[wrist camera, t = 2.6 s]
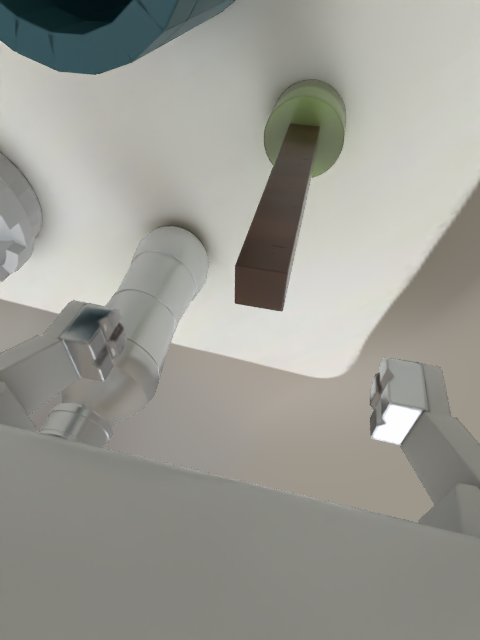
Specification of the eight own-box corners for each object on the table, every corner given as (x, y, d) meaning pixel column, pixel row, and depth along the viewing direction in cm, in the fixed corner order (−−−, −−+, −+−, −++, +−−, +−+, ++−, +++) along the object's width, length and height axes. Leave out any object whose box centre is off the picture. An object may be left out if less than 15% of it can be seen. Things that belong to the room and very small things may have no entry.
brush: (276, 76, 24) (188, 219, 12) (353, 82, 23) (343, 241, 11) (270, 153, 27) (198, 324, 15) (337, 161, 27) (316, 346, 15)
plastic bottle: (204, 214, 32) (87, 422, 18) (222, 277, 37) (138, 483, 23) (137, 218, 34) (-15, 410, 20) (161, 278, 39) (51, 469, 25)
